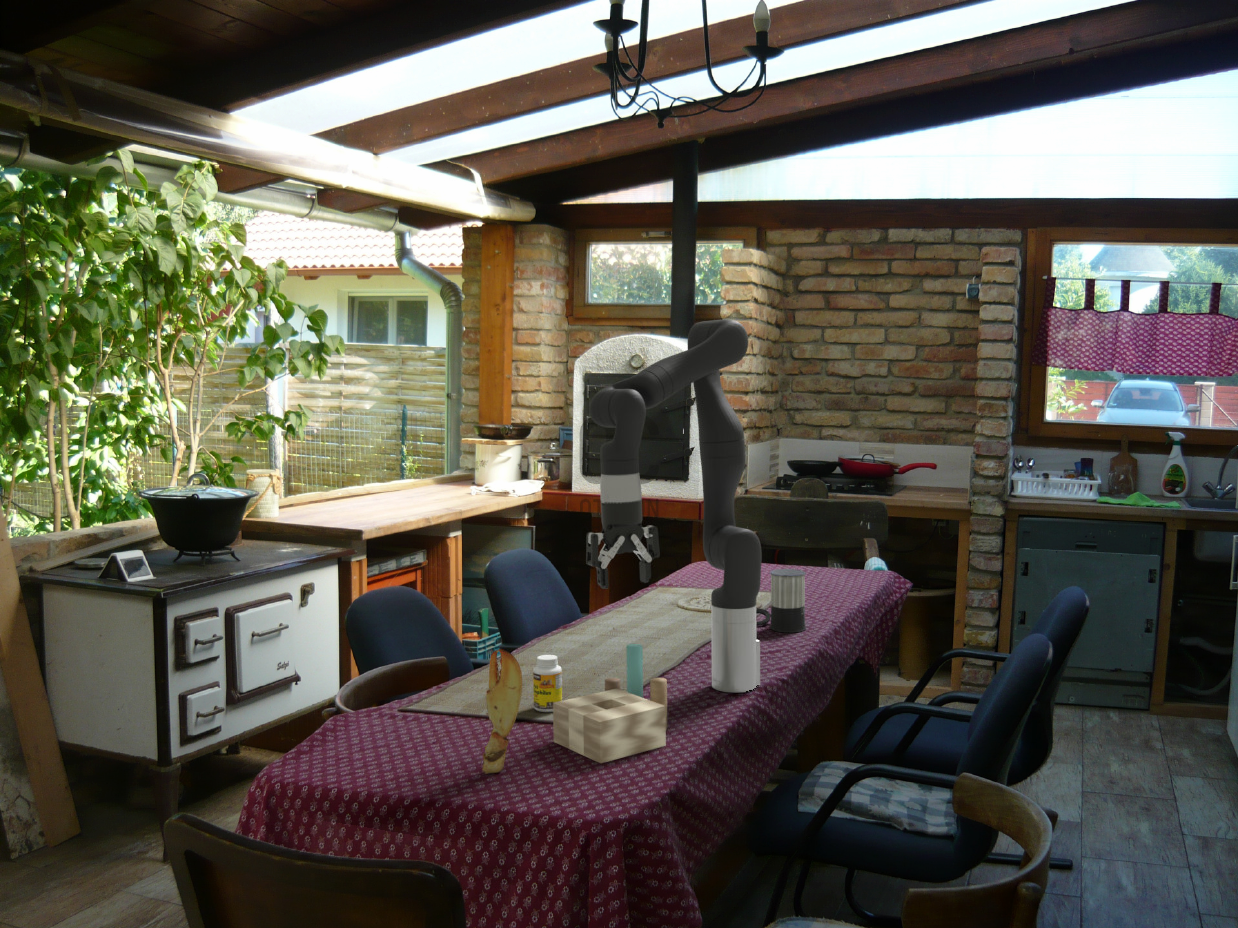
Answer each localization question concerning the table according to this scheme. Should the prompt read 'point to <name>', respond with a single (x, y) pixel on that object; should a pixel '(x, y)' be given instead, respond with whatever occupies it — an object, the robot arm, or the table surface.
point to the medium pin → (659, 692)
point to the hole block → (609, 725)
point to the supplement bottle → (547, 683)
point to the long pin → (635, 669)
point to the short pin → (612, 684)
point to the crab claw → (501, 707)
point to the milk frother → (786, 601)
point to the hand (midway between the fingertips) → (624, 585)
